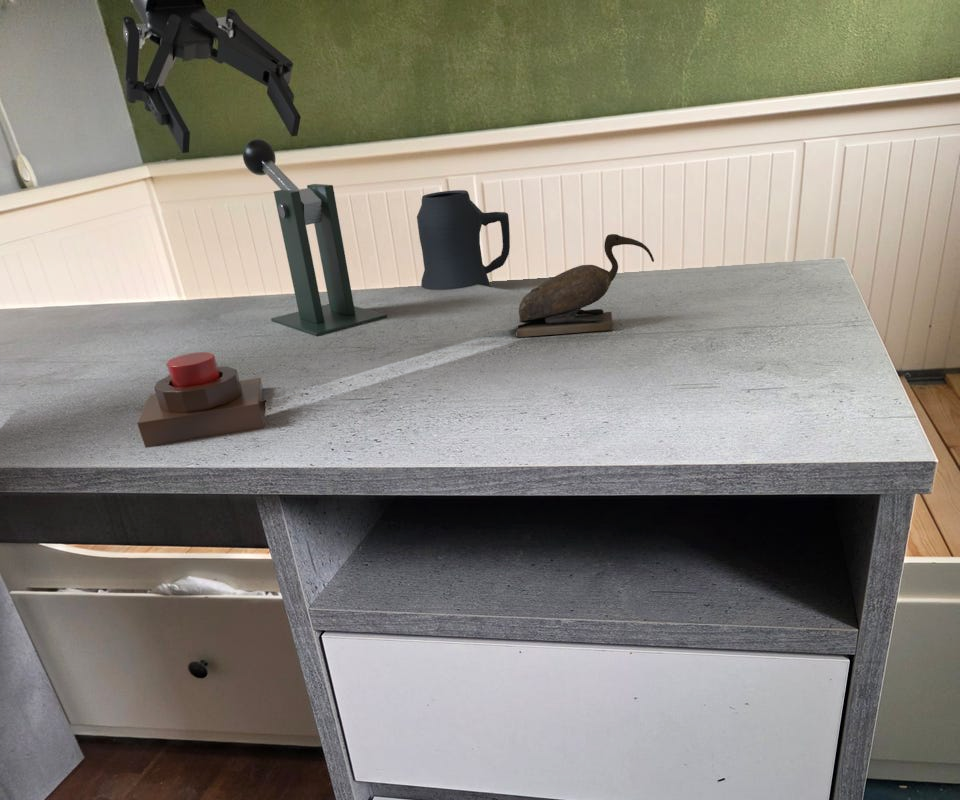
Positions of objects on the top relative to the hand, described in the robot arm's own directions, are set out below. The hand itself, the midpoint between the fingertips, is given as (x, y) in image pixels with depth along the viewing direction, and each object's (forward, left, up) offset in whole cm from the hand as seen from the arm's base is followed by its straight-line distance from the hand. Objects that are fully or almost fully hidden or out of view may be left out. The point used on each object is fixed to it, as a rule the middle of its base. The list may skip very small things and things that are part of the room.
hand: (243, 135), depth 100 cm
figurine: (+32, -28, -20) cm, 47 cm away
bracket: (+6, -12, -20) cm, 24 cm away
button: (-6, -40, -16) cm, 44 cm away
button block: (-6, -40, -20) cm, 45 cm away
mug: (+24, -2, -20) cm, 31 cm away
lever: (+3, -7, -6) cm, 10 cm away
